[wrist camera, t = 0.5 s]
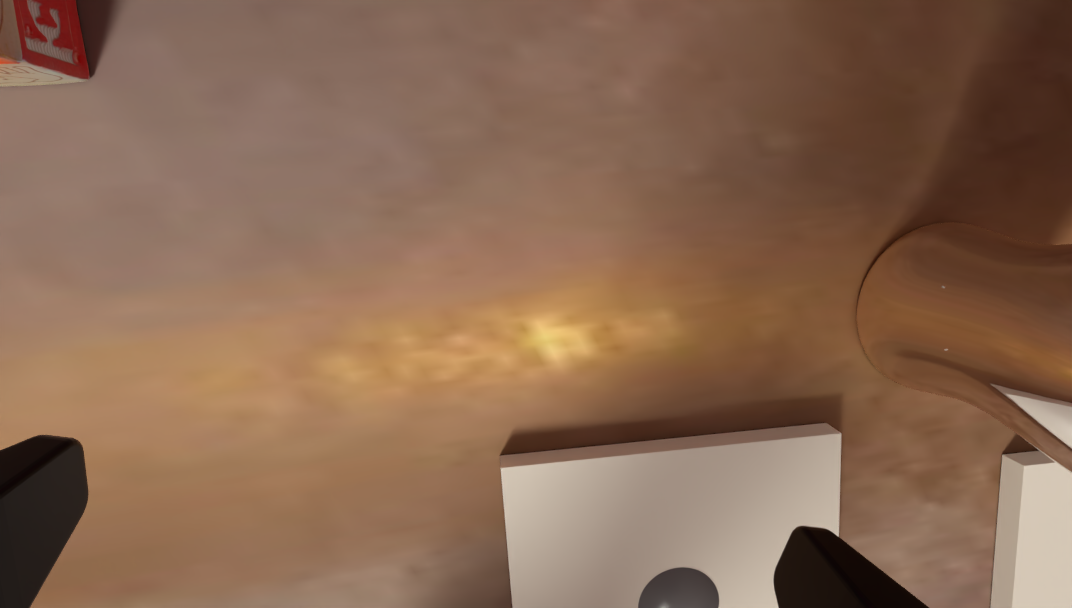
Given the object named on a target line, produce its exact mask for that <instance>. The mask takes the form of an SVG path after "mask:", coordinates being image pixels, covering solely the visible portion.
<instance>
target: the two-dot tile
mask: <svg viewBox="0 0 1072 608" xmlns="http://www.w3.org/2000/svg"><path fill="white" fill-rule="evenodd" d="M990 608H1072V474H1071V473H1069V472H1068V471H1066V470H1065V469H1064V468H1062V467H1061V466H1060V465H1058V464H1057V463H1055V462H1054V461H1053V460H1051V459H1050V458H1049V457H1047V456H1046V455H1044V454H1043V453H1042V452H1040V451H1031V452H1022V453H1012V454H1003V455H1002V465H1001V478H1000V491H999V504H998V516H997V529H996V542H995V555H994V568H993V580H992V593H991V606H990Z"/></svg>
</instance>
